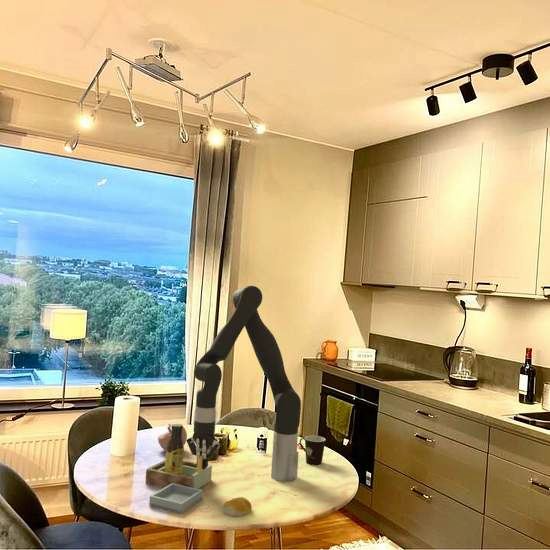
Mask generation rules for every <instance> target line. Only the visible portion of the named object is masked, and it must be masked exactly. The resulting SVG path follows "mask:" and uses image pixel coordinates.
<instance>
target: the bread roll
mask: <svg viewBox="0 0 550 550" xmlns="http://www.w3.org/2000/svg"><path fill="white" fill-rule="evenodd" d="M252 509H253V508H252V503H251V502H250V501H249V499H248V498H245V497H241V496H240V497H235V498H232V499H230V500H228V501H227V500H226V501H225V502H224V504H223V506H222V510H223V512H224V514H226V515H228V516H230V517H242V516H244V515H246V514H249V513H251V511H252Z"/></svg>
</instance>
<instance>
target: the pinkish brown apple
mask: <svg viewBox="0 0 550 550" xmlns="http://www.w3.org/2000/svg"><path fill="white" fill-rule="evenodd" d="M171 427H172V424H171V423H168V426H167V428H166V429H167V431H166V432H164V433H163V434H160V435H158V436H157V442H158V445H159V446H160V448H161V449H162V450H164V451H165V452H166V450H167V444H168V441H169V440H170V438H171V434H172V429H171ZM187 439H188V435H187V430H186V428H185V427H184V426H183V429H182V442H183V446H184V447H185V444H186V443H187V441H186V440H187Z"/></svg>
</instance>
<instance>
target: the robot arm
mask: <svg viewBox="0 0 550 550" xmlns="http://www.w3.org/2000/svg"><path fill="white" fill-rule="evenodd" d="M232 302H233V306H234V308H235V310H234V311H233V314H232V315H231V317H230V318H229V319H228V320H227V322H226V323H225V324H224V325H223V327H222V328H221V329H220V331H219V332H218V333H217V335H216V336H215V338H214V340H213V342H212V343H211V346H210V347H209V349H208V350H207V351H206V352H205V353H204V354H203V356H201V358H200V359H199V360H198V361H197V363H196V365H195V367H194V372H193V374H194V377H195V379H197V381H200V382H204V383H203V387H202V388H200V389H198V391H197V392H196V398H195V400H196V401H195V410H194V419H193V421H194V422H193V434H192V437H187V440H186V443H187V445H188V447H189V450H190V452H191V455H192V456H195V458H196V461H197V460H198V457H200V456H202V455H203V460H202V469H206V468H207V467H208V465H209V459H211V458H213V457H214V456H215V455H216V453H218V452H217V451H218V450H219V449H220V448H221V446H222V443H221V442H218V441H217V440H216V437H215V433H216V419H217V410H216V407H217V406H216V405H217V394H218V392H219V387H220V385H221V382H222V376H223V373H222V369H221V367H220V366H219V365H218V363H219V362H222V361H223V362H224V361H225V360H227V358H228V357H229V355H230V353H231V351H232V350H233V349H232V348H233V347H234V346H235V343H236V342H237V340H238V338H239V336H240V334H241V333H242V331H243V330H244V328H245V330H246V332H247V333H246V334H247V335H248V339H249V341H250V343H251V345H252V346H251V347H252V348H253V352H254V353H255V356H256V359H257V361H258V363H259V365H260V367H261V369H262V371H263V373H264V375H265V377H266V378H267V381H268V383H269V386H270V389H271V394H272V396H273V400H274V401H273V402H274V405H275V407H276V412H275V422H274V424H273V439H272V453H271V455H272V456H271V470H270V471H271V472H270V473H271V474H270V477H271V478H272V480H273V479H274V480H276V481H278V482H293V481H294V480H295V479H296V478H297V477H298V468H299V451H298V439H299V438H298V437H299V427H300V423H301V422H300V421H301V413H302V412H301V411H302V410H301V409H302V401H301V397H300V396H299V394H298V393H297V392H296V391H295V389H294V388H293V386H292V383H291V382H290V380H289V377H288V375H287V373H286V370H285V365H284V364H285V363H284V359H283V357H282V353H281V350H280V347H279V344H278V342H277V339H276V337H275V336H274V334H273V333H272V331H271V330H270V329H269V328H268V326H266V324H265V323H264V322H263V320H262V319H261V317H260V314H259V311H258V308H259V307H260V306H261V304H262V302H263V292H262V290H261V289H260V288H259V287H257V286H255V285H246V286H244V287H240V288H238V289H236V290H235V291H234V293H233V295H232ZM211 447H212V449H211ZM195 463H196V465H197V462H195Z"/></svg>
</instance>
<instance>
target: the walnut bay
mask: <svg viewBox="0 0 550 550" xmlns="http://www.w3.org/2000/svg"><path fill="white" fill-rule="evenodd" d="M165 461H166V459H165V460H162V461H160V462H158V463H156V464H154V465H152V466H150V467H148V468H146V469H145V472H146V473H145V484H146V483H147V484H146V485H150V486H156V487H158V486H159V487H160V488H162V489H163V488H165V487H166V486H168V485H170V484H171V483H174V484H178V485H183V486H187V487H192V478H191V477H187V476H183V475H182V476H181V475H177V474H172V473H168V472H163V471H159V470H158V469H160V468H162V467H164V466H165ZM196 463H197V462H194V461H189V460H185V459H183V465H186V466H191V467H195V468H197V465H196ZM212 470H213V469H212ZM212 470H211V473H212V472H213V471H212ZM159 487H158V488H159Z"/></svg>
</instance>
